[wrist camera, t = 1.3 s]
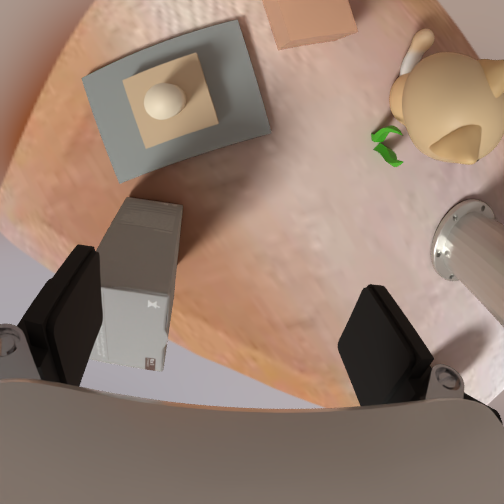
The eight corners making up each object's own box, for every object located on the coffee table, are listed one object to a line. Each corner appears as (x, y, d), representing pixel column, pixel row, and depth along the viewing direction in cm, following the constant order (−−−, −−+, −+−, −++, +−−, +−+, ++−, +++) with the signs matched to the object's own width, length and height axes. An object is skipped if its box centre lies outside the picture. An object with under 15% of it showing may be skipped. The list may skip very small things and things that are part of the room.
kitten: (406, 179, 34) (490, 234, 21) (340, 133, 31) (419, 167, 18) (459, 82, 28) (554, 98, 15) (402, 28, 25) (497, 12, 12)
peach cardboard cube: (318, -10, 23) (338, -28, 18) (334, 40, 26) (358, 31, 21) (261, -2, 24) (270, -21, 18) (278, 50, 26) (290, 41, 21)
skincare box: (127, 194, 32) (66, 272, 18) (192, 205, 33) (172, 292, 19) (122, 262, 36) (78, 361, 22) (181, 273, 37) (164, 378, 23)
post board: (236, 21, 25) (240, 4, 19) (270, 132, 30) (281, 141, 25) (85, 78, 25) (56, 77, 20) (122, 181, 31) (101, 201, 25)
